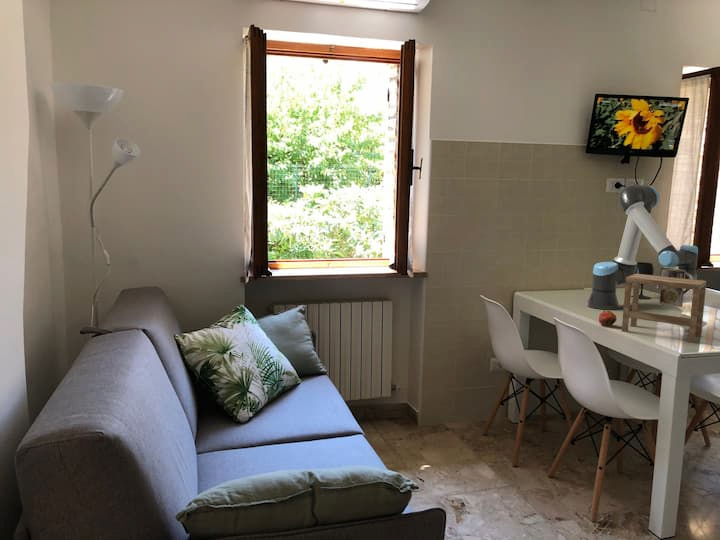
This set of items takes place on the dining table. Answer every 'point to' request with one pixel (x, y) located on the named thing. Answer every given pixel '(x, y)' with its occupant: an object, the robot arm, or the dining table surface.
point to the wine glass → (646, 270)
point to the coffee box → (672, 289)
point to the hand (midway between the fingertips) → (670, 286)
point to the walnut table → (693, 322)
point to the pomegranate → (607, 318)
